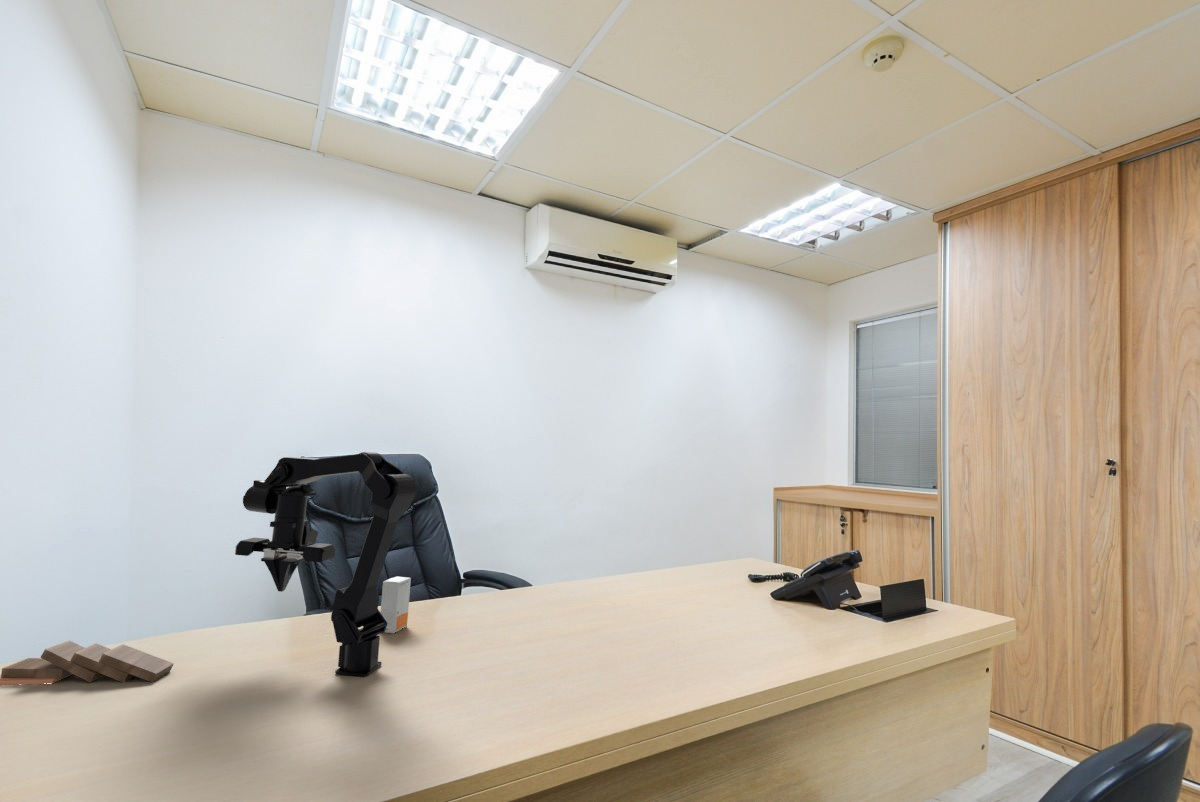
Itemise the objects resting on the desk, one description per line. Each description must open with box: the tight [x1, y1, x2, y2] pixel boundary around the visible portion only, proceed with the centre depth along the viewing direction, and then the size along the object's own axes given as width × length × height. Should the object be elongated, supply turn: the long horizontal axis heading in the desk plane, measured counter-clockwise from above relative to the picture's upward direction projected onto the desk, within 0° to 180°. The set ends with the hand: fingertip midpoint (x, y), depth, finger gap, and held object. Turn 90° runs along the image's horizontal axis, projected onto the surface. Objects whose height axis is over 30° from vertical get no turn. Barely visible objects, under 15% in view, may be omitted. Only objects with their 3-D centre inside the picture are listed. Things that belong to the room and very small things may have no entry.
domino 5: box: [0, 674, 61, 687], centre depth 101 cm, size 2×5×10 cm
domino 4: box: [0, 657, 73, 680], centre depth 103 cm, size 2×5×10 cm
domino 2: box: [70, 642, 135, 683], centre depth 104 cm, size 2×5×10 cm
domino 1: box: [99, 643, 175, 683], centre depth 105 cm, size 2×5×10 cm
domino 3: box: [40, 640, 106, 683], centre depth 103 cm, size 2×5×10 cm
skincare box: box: [380, 576, 412, 634], centre depth 138 cm, size 6×4×12 cm
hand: (281, 591), depth 119 cm, fingers closed
